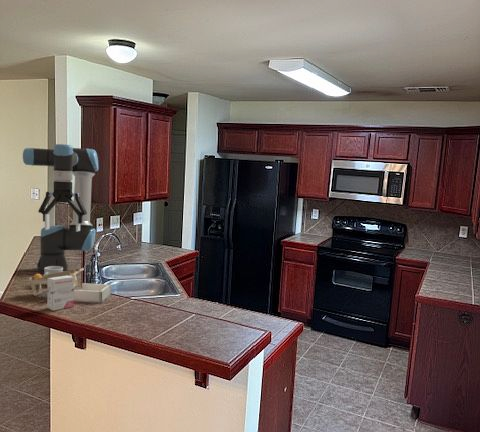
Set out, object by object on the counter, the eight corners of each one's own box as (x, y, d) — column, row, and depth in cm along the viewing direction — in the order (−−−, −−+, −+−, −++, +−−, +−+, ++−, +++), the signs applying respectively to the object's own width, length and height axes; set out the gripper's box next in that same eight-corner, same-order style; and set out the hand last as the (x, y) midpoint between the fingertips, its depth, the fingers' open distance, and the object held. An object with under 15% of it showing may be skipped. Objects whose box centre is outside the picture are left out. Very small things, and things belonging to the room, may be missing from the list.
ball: (36, 280, 188) (35, 273, 187) (43, 280, 188) (42, 272, 187) (32, 282, 185) (31, 274, 184) (40, 281, 184) (39, 274, 184)
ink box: (68, 304, 176) (69, 274, 175) (74, 306, 173) (74, 276, 172) (46, 308, 170) (46, 277, 169) (52, 311, 167) (52, 279, 166)
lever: (49, 287, 199) (45, 270, 198) (86, 279, 198) (82, 262, 197) (33, 296, 184) (28, 278, 183) (73, 287, 183) (68, 269, 182)
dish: (82, 293, 192) (82, 283, 192) (110, 294, 192) (111, 284, 191) (71, 301, 180) (71, 290, 180) (101, 302, 180) (102, 291, 180)
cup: (52, 289, 197) (52, 271, 196) (36, 287, 198) (36, 269, 197) (66, 283, 207) (66, 266, 206) (50, 282, 209) (51, 265, 208)
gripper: (29, 179, 188) (29, 229, 190) (88, 182, 187) (87, 232, 189) (38, 179, 195) (38, 227, 197) (95, 182, 194) (94, 230, 196)
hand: (62, 230), depth 193 cm, fingers open, 13 cm apart
